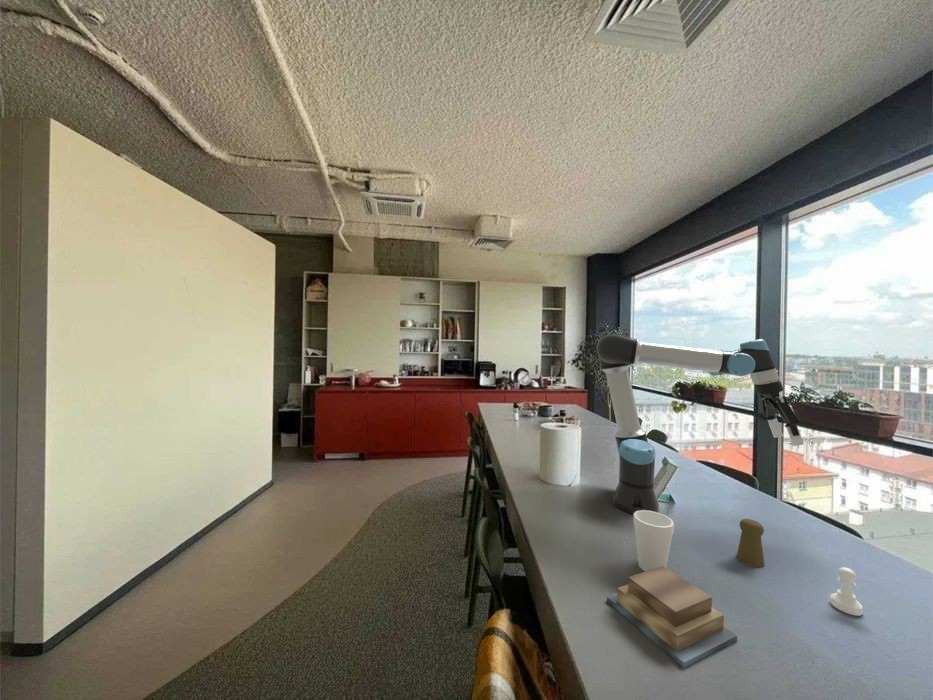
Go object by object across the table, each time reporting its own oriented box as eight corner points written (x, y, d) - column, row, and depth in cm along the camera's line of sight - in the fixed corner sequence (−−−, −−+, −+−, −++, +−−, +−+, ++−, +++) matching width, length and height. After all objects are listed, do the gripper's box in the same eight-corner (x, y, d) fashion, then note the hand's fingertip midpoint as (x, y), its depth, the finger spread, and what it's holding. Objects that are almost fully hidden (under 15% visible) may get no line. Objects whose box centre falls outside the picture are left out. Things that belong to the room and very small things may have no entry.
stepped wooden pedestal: (606, 601, 80) (607, 570, 80) (655, 583, 86) (656, 555, 86) (683, 668, 63) (685, 629, 63) (737, 640, 70) (738, 605, 70)
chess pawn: (825, 597, 83) (826, 559, 83) (853, 603, 81) (854, 565, 81) (838, 612, 78) (839, 572, 78) (868, 619, 77) (870, 578, 77)
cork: (758, 557, 99) (759, 518, 99) (769, 569, 93) (770, 528, 93) (733, 552, 101) (734, 514, 101) (741, 564, 95) (743, 524, 95)
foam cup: (625, 557, 97) (626, 510, 97) (657, 556, 98) (658, 509, 98) (645, 579, 88) (647, 527, 87) (680, 578, 88) (682, 527, 88)
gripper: (798, 381, 113) (822, 446, 110) (763, 377, 136) (782, 432, 134) (770, 386, 115) (793, 451, 113) (740, 382, 139) (759, 435, 136)
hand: (787, 440), depth 123 cm, fingers open, 13 cm apart
